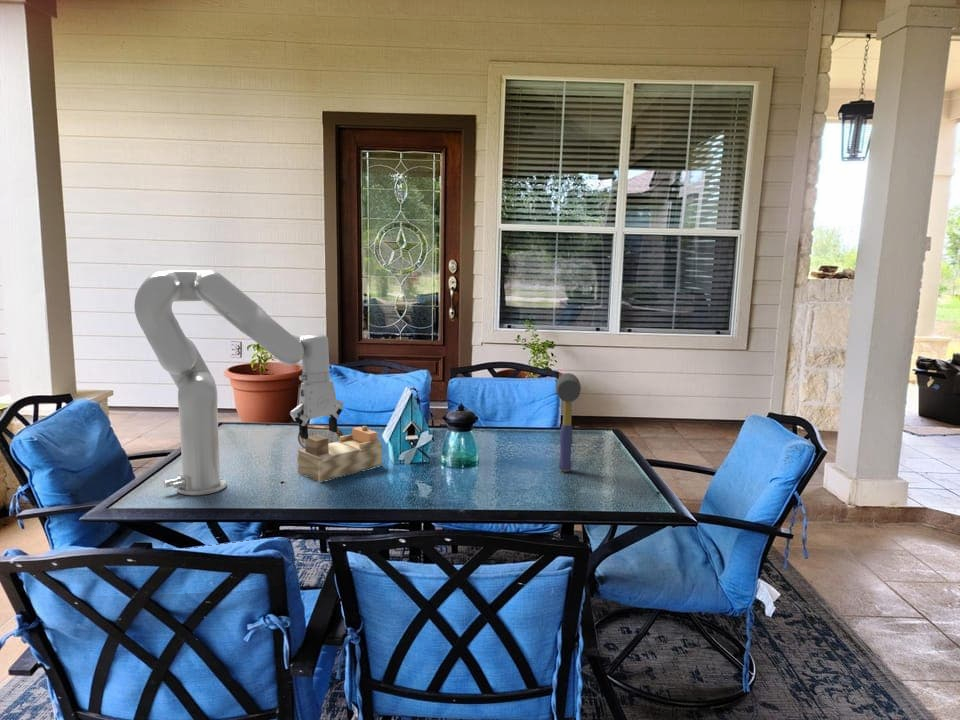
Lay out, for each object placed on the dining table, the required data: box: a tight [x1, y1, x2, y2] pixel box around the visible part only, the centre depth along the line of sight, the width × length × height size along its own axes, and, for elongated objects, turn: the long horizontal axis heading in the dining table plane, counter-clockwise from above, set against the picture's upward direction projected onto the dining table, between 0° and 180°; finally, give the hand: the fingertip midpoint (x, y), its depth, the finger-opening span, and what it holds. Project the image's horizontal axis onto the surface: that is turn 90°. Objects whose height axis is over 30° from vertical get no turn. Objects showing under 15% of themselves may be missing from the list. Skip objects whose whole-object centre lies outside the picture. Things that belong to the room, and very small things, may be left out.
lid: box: [297, 435, 359, 462], centre depth 195 cm, size 14×12×6 cm
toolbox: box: [296, 433, 383, 483], centre depth 198 cm, size 22×12×8 cm, turn 136°
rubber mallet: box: [555, 372, 582, 472], centre depth 200 cm, size 12×8×30 cm, turn 173°
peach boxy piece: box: [351, 425, 379, 443], centre depth 204 cm, size 3×9×5 cm, turn 46°
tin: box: [297, 424, 344, 449], centre depth 219 cm, size 15×3×8 cm, turn 84°
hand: (318, 434), depth 192 cm, fingers open, 9 cm apart
